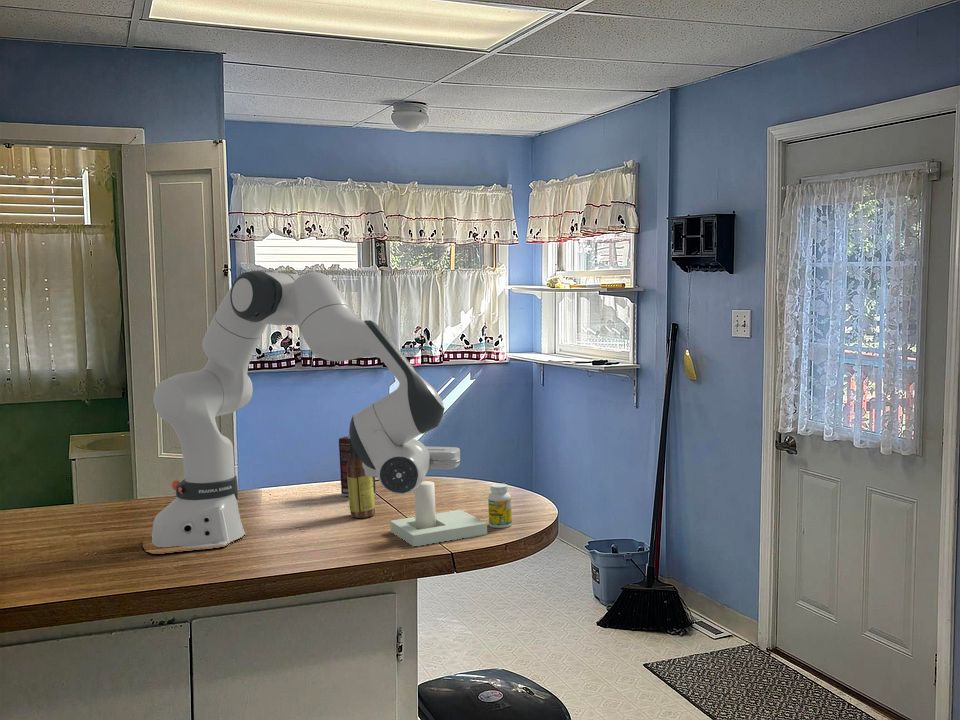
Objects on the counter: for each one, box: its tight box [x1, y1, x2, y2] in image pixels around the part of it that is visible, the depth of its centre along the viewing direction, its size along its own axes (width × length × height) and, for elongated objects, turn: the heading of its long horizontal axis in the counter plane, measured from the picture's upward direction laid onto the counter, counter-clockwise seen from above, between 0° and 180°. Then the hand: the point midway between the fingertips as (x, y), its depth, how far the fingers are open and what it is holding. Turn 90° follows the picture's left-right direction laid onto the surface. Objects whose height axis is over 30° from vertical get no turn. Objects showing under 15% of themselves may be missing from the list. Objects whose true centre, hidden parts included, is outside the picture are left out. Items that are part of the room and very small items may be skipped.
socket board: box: [389, 509, 488, 547], centre depth 211 cm, size 18×14×3 cm
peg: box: [413, 480, 437, 530], centre depth 209 cm, size 5×5×12 cm
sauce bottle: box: [347, 437, 376, 519], centre depth 227 cm, size 7×6×20 cm
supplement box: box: [338, 435, 377, 498], centre depth 248 cm, size 9×5×16 cm, turn 58°
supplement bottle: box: [487, 482, 513, 529], centre depth 216 cm, size 5×5×10 cm
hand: (414, 450), depth 197 cm, fingers open, 8 cm apart
